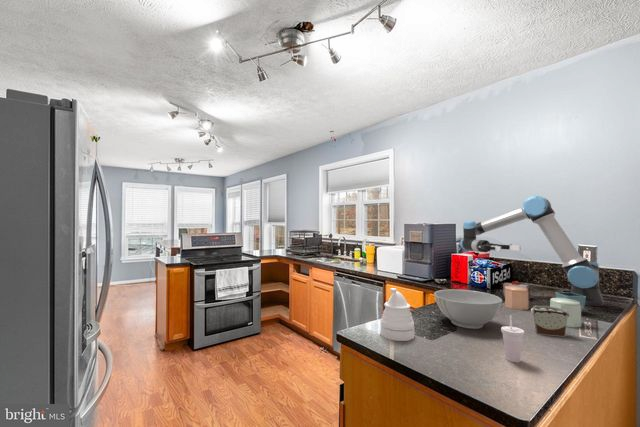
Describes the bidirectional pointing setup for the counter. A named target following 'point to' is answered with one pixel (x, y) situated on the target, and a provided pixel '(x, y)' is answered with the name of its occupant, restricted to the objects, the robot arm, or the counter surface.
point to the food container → (550, 320)
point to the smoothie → (512, 342)
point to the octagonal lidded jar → (516, 297)
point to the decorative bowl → (468, 307)
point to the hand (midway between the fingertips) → (510, 248)
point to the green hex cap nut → (569, 310)
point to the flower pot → (572, 297)
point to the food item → (518, 286)
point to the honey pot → (397, 318)
